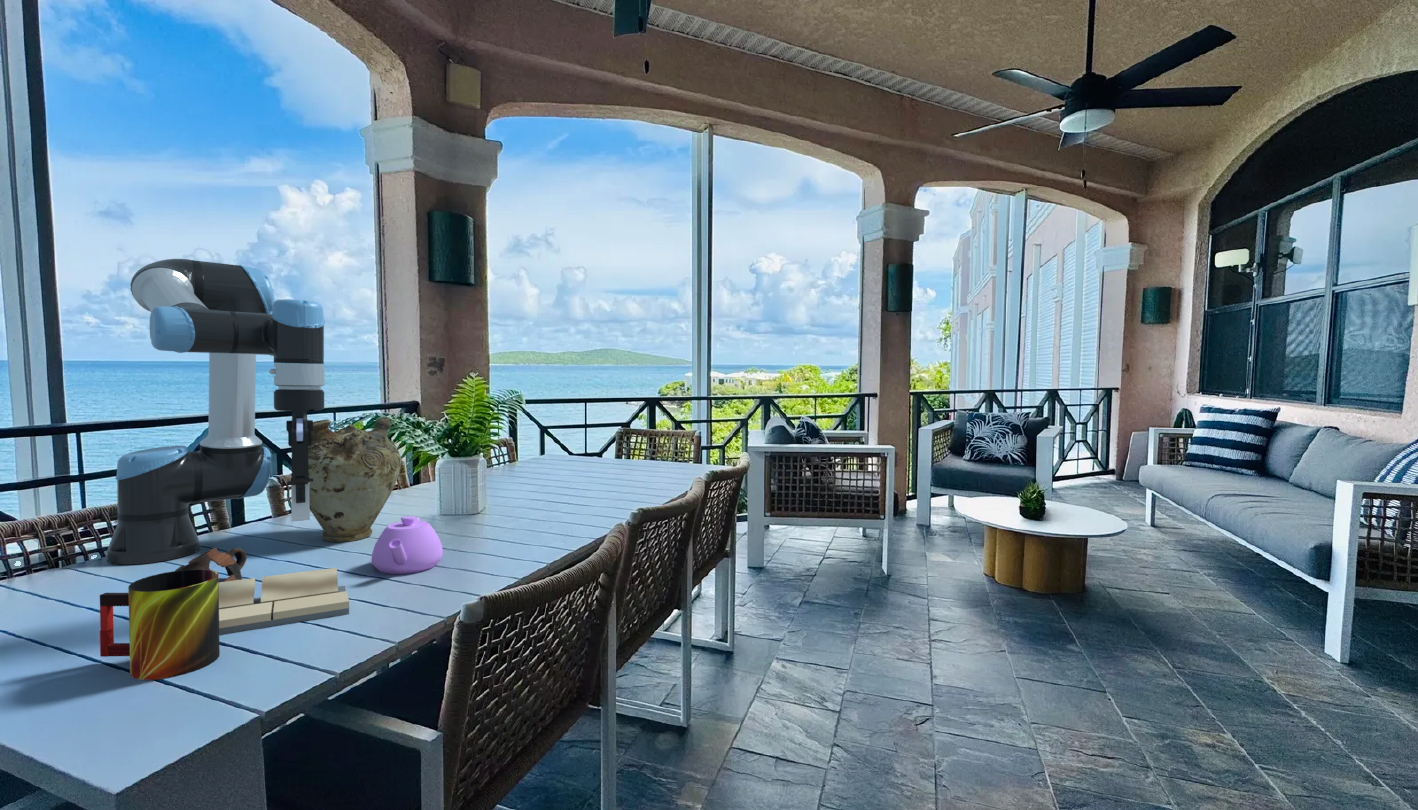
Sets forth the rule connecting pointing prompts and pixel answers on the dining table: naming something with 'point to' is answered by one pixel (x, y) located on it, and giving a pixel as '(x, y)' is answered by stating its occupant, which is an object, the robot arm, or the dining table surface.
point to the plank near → (236, 593)
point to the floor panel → (283, 611)
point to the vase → (350, 477)
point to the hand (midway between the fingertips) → (300, 519)
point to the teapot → (407, 547)
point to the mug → (166, 623)
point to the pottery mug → (220, 562)
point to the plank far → (299, 585)
